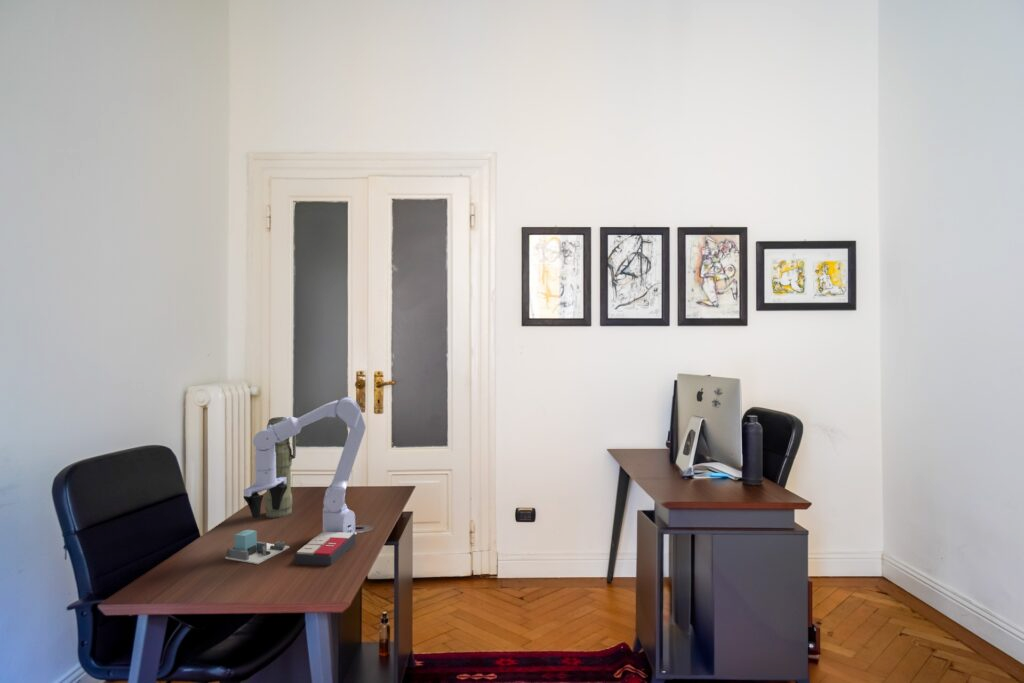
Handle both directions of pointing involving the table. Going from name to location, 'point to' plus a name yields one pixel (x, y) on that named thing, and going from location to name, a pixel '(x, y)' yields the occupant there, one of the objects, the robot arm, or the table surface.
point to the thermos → (282, 474)
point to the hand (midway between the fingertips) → (266, 513)
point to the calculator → (325, 548)
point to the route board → (264, 553)
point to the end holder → (241, 553)
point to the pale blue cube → (246, 541)
